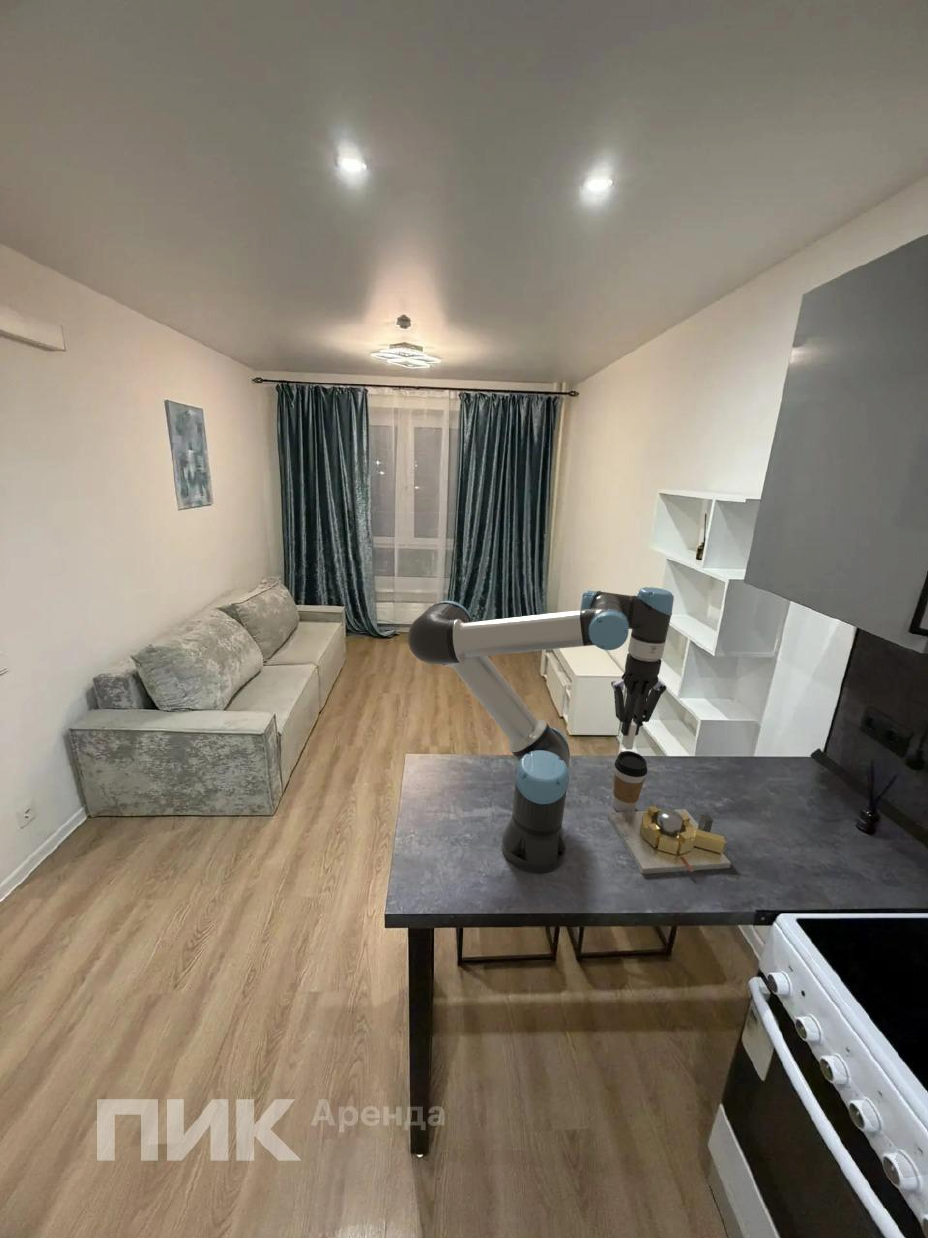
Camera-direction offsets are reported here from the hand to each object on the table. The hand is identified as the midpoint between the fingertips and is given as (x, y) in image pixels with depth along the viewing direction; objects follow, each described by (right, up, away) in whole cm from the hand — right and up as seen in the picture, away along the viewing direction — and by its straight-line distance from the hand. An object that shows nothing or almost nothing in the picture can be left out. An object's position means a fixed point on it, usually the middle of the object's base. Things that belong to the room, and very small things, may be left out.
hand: (626, 746), depth 121 cm
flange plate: (+11, -25, +4) cm, 27 cm away
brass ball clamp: (+14, -24, +2) cm, 27 cm away
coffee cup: (+4, -21, +16) cm, 26 cm away
